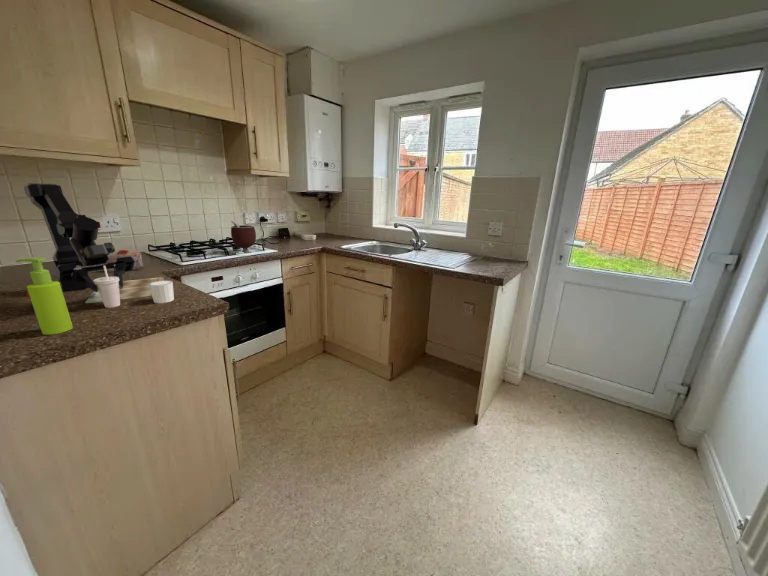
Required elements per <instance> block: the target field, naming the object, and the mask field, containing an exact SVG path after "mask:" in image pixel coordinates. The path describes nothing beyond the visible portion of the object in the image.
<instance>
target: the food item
mask: <svg viewBox="0 0 768 576" xmlns="http://www.w3.org/2000/svg"><path fill="white" fill-rule="evenodd" d="M107 256H108V258H109V260H108V261H107V263H113V262H116V260H117V257H125V256H131V257H132V258H133V259H134V261H135V263H134V266H133V270H132V271H138V270H141V269H143V267H144V263H143V258H142V253H141V252H140V251H138V252H135V251H134V252H130V251H129V249H127V250H126V249H122V250H121V249H120V250H119V251H117V252H114V253H109V255H107ZM107 273H114V270H113V269H109V270H107Z"/></svg>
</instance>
